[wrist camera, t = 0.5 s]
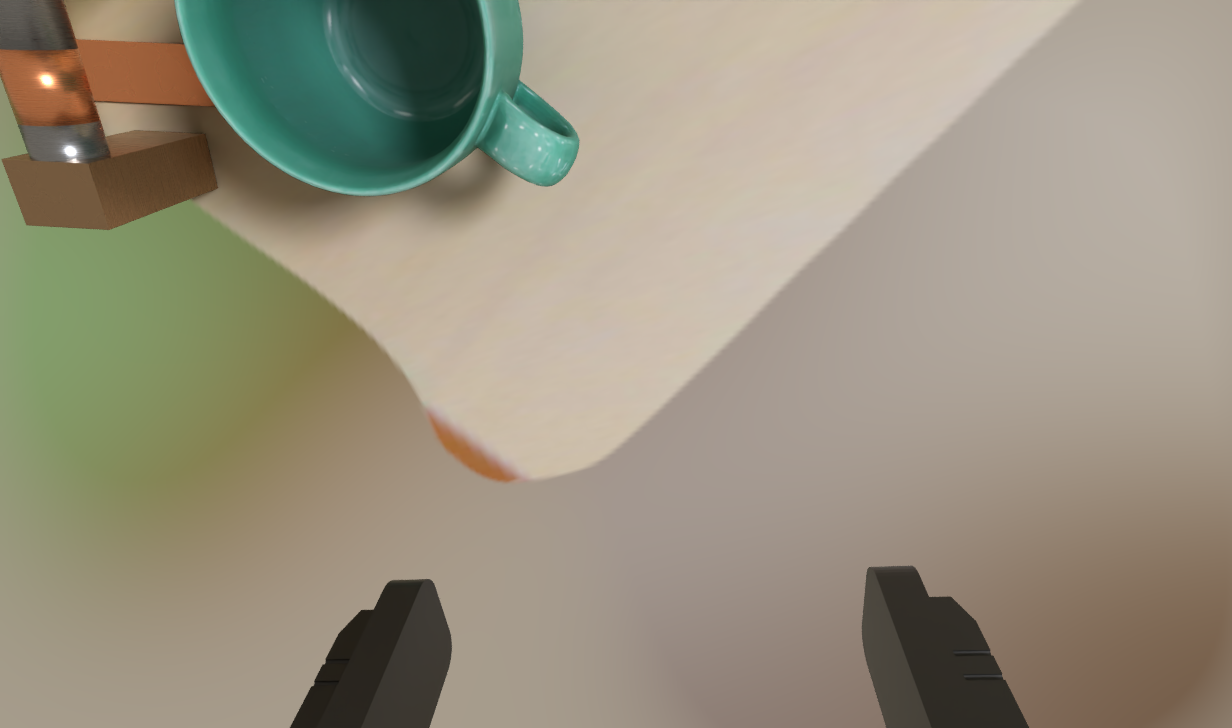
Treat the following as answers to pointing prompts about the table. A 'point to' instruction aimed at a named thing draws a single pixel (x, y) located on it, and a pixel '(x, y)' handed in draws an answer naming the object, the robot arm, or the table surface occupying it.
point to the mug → (375, 88)
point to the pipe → (94, 122)
